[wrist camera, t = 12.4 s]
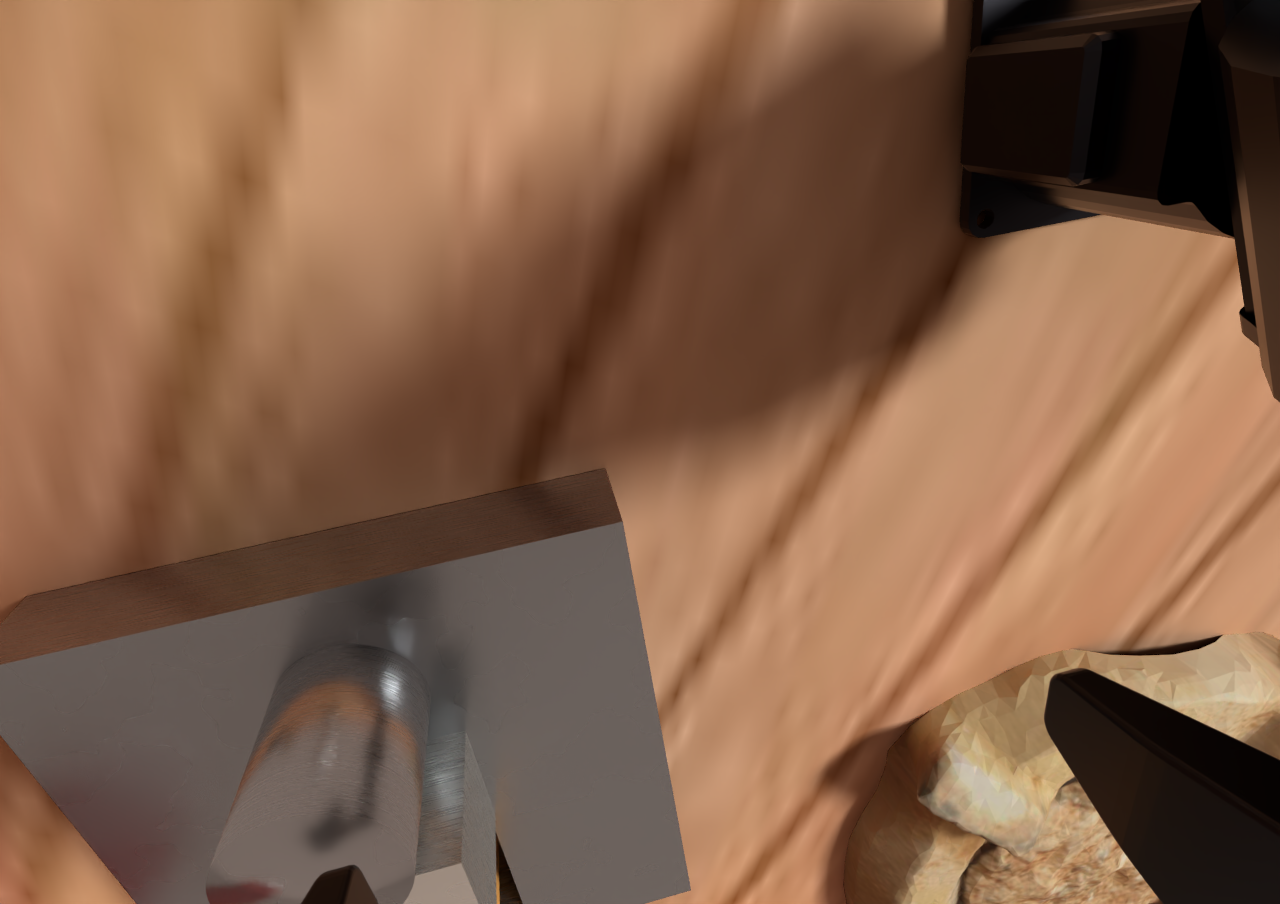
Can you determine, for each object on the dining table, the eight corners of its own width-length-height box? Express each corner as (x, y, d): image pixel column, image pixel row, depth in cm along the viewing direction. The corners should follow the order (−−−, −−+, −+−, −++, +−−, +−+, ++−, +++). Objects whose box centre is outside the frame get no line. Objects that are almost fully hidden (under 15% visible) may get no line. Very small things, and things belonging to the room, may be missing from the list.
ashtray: (975, 556, 26) (1076, 649, 21) (1382, 635, 33) (1520, 717, 29) (742, 960, 34) (779, 1086, 30) (1103, 953, 42) (1176, 1054, 37)
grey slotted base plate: (605, 468, 21) (665, 655, 14) (671, 816, 28) (733, 1053, 21) (25, 596, 19) (-242, 884, 12) (258, 931, 27) (175, 1230, 20)
